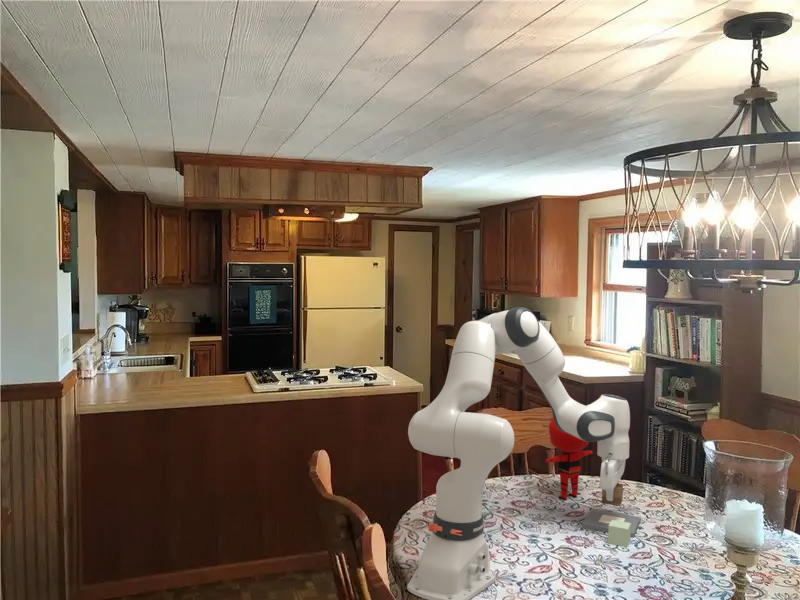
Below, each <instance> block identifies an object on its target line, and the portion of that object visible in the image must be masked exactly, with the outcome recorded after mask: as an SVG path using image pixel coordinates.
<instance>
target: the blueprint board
mask: <svg viewBox="0 0 800 600" xmlns="http://www.w3.org/2000/svg"><path fill="white" fill-rule="evenodd" d="M611 520H617V521H622V522H627V523H631V538H632V537H633V539H635V536H636V533H637V531H638V528H639V526H640V524H641V520H642V517H641V516H635V515H631V514H625V513H618V512H614V511H609V510H608V511H607V510H602V509H597V508H592V509H591V510H590V511H589V512H588V514H587V516H586V517H585V519H584V521H582V523H581V526H582V529H588V530H591V529H592V530H591V531H596V530H597V531H598V532H601V531H602V532H603V533H606V532H607V534H608V527H609V524H610V522H611Z"/></svg>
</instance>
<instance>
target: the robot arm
mask: <svg viewBox="0 0 800 600" xmlns="http://www.w3.org/2000/svg"><path fill="white" fill-rule="evenodd" d="M513 351H514V352H515V354H516V355H517V357H518V359H519V360H520V362H521V363H522V365H523V366H524V368H525V369H526V371H527V372H528V373H529V374H530V375H531V377H532V379H534V381H535V382H536V384H537V386H538V388H539V389H540V391H541V392H542V394H543V396H544V398H545V399H546V401H547V402H548V404H549V406H550V408H551V413H552V418H554V422H555V424H556V426H557V428H558V429H559V430H561V431H562V432H564V433H567V434H571V435H573V436H575V437H577V438H579V439H581V440H583V441H587V442H589V443H594V442H597V445H596V446H597V451H596V452H597V453H596V454H597V456H598V457H600V458H601V465H600V476H599V478H600V479H599V488H600V489H601V491H602V490H606V499H607V501H613V499H614V494H613V490H614V488H615V486H616V485H617V483H619V481H620V479H621V478H622V476H623V475H624V472H625V467H626V460H627V459H629V458H630V437H629V431H630V427H631V411H630V405H629V402H628V400H627V399H626V398H624V397H622V396H619V395H615V394H610V393H609V394H608V393H604V394H601V395H600V396H599V398H598V399H596V400H595V401H593V402H591V403H590V404H587V405H585V404H582V403H580V402H578V401H577V400H575V399H573V398H572V397H571V396H570V395H569V393H568V392H567V390H566V388H565V386H564V385H563V383H562V381H561V380H560V377H559V376H560V375H561V374H562V372H563V370H564V368H565V365H566V359H565V356H564V354H563V351H562V350H561V348H560V346H559V345H558V342H556V341H555V339H554V337H553V336H552V334H551V333H550V332H549V331H548V329H547V328H546V327H545V326H544V325H543V324H542V323H541V322H540V321H539V319H538V318H537V316H536V315H535V313H534V312H532V311H531V310H530V309H529V308H526V307H522V306H521V307H520V306H519V307H518V306H517V307H512V308H510V309H508V310H507V309H506V310H503V311H499V312H494V313H491V314H489V315H486V316H484V317H483V318H481V319H477V320H471V321H466V322H465V323H464V324H462V326H461V327H460V329H459V331H458V333H457V336H456V339H455V342H454V344H453V348H452V352H451V356H450V357H451V358H450V362H449V366H448V371H447V374H446V379H445V382H444V385H443V387H442V389H441V390H440V392H439V394H438V395H437V396H436V398H434V399H433V401H432V402H430V404H428V405H426V407H424V408H422V409H420V410H418V411H417V412H415V413H414V414H413V416H412V417H411V419H410V421H409V424H408V429H407V430H408V431H407V435H408V439H409V442H410V445H412V447H413V449H415V450H417V451H420V452H422V453H425V454H429V455H431V456H439V457H447V458H453V459H454V458H456V459H459V460H460V467H458V468H456V469H453V470H451V471H447V472H446V473H444V474H443V475H441V476H440V478H439V479H438V481H437V484H436V486H435V488H436V490H435V491H436V493H435V494H436V495H435V496H436V497H435V512H434V513H433V518H432V522H428V525H427V530H428V532H431V533H430V536H429V538H428V541H426V545H425V546H424V549H423V551H422V554H421V556H420V557H419V561H418V565H417V566H418V567H417V569H416V570H415V572H414V574H413V575H412V577H411V579H410V580H409V582H408V583H407V585H406V586H407V587H406V589H407V590H408V592H410V593H411V594H413V595H415V596H416V597H420V598H422V599H424V600H425V599H426V600H471V599H473V598H474V597H475V596H477V595H478V594H480V593H481V592H482V591H484V590H486V589H487V588H488V587H490V586H491V585H492V584H494V583H496V576H495V574H493V573H492V572H491V569H490V567H491V566H490V565H491V563H490V547H489V546H490V545H489V543H488V541H487V539H485V536H484V534H483V533H484V530H485V529H484V527H485V520H484V514H483V497H484V487H485V483H486V481H487V478H488V476H489V475H490V473H491V472H492V470H493V469H494V468H495V467H496V466H497V465H498V464H499V463H501V462H503V461H504V460H506V459H507V458H508V457H509V456H510V454H511V453H512V452H513V450H514V446H515V433H514V429H513V427H512V424H511V423H510V422H509V421H508V419H506V418H502V417H500V416H496V415H494V414H493V415H492V414H489V413H481V412H480V413H478V412H467V411H466V410H467V409H468V408H469V407H470V406H472V405H474V404H477V403H479V402H481V401H483V400H484V399H486V397H487V396H488V395H489V393H490V392H491V387H492V382H493V376H494V370H495V369H494V368H495V361H496V355H501V354H502V355H503V354H507V353H508V354H509V353H511V352H513Z"/></svg>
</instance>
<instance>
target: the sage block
mask: <svg viewBox="0 0 800 600" xmlns="http://www.w3.org/2000/svg"><path fill="white" fill-rule="evenodd" d="M607 534H608V536H607V544H608V545H613V546H617V545H618V547H622V546H624V547H623V548H627V547H628V548H629V545H630V543H631V538H632V537H631V523H627V522H622V521H617V520H611V522H610V524H609V527H608V533H607Z"/></svg>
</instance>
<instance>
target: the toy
mask: <svg viewBox="0 0 800 600" xmlns="http://www.w3.org/2000/svg"><path fill="white" fill-rule="evenodd" d="M548 430H549V431H548V433H549V437H550V439H549V441H550V443H551V445H553V446H554V448H556V449H558V450H560V451H561V453H559V454H557V455H555V456H553V457H550V458H546V459H545V463H547V464H549V463H557V462H558V464H557V465H558V466H557V467H558V473H559V481H560V482H559V483H560V495H558V496H557V497H558V499H560V500H562V499H563V501H567V500H568V499H567V498H568V496H569V497H573V499H575V498H577V497H578V487H579V479H580V478H579V477H580V474H581V468H582V466H581V460H580V459H582V458H583V457H586V456H588V455H591V454H593V450H584V449H585V448H586V447H587V446H588V445H589V443H590V442H587V441H583V440H581V439H579V438H577V437H575V436H573V435H571V434H567V433H564V432H562V431H561V430H559V429H558V428H557V426H556V424H555V422H554V418H553V417H552V418H551V420H550V422H549V425H548ZM569 481H570V487H571V492H569V491H568V490H569Z"/></svg>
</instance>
